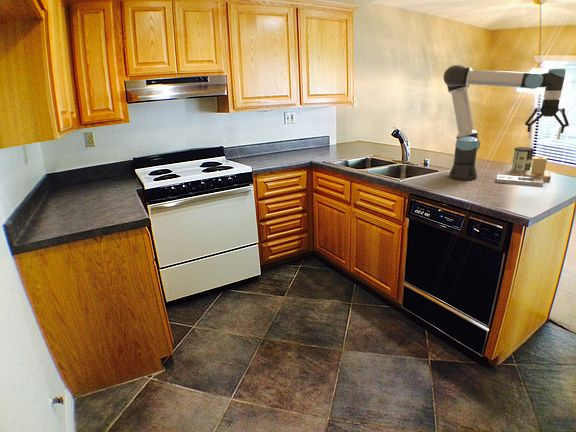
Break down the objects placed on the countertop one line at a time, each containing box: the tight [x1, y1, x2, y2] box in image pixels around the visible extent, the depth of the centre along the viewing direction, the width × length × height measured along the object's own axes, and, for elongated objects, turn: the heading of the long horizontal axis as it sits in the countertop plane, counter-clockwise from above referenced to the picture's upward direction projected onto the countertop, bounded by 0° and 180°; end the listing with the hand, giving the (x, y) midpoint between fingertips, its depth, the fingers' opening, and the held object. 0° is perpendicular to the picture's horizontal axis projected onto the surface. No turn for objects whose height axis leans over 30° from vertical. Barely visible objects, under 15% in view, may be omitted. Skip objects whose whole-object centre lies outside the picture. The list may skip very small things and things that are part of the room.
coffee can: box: [510, 146, 535, 174], centre depth 231 cm, size 10×10×14 cm
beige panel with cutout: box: [495, 174, 544, 187], centre depth 210 cm, size 22×11×2 cm, turn 60°
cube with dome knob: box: [530, 155, 548, 175], centre depth 214 cm, size 6×6×9 cm
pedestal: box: [523, 169, 552, 182], centre depth 216 cm, size 12×12×3 cm
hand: (543, 138), depth 209 cm, fingers open, 13 cm apart
